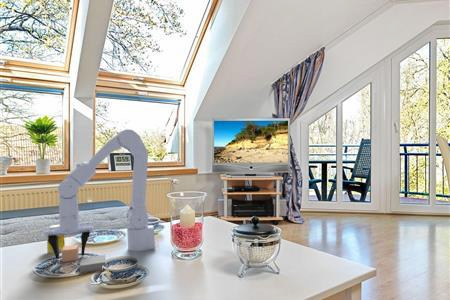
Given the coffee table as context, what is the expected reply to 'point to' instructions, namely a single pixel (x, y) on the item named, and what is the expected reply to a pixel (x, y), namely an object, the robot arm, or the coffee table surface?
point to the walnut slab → (90, 271)
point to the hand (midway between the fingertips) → (70, 256)
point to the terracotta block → (70, 253)
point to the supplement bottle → (60, 242)
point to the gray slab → (92, 263)
